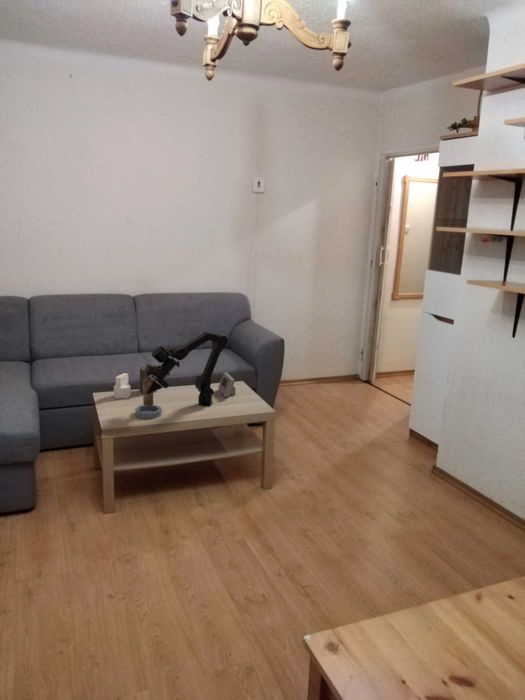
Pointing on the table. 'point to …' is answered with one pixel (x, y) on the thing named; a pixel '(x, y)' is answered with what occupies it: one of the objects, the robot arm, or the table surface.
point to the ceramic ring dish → (148, 411)
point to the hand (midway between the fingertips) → (145, 392)
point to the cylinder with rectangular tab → (122, 387)
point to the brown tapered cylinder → (146, 397)
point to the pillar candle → (143, 378)
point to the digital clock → (227, 385)
